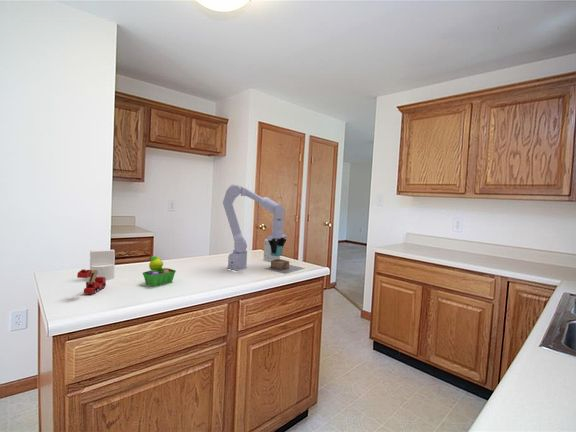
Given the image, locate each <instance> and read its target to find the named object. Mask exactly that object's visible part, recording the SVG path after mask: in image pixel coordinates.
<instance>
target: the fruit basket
mask: <svg viewBox="0 0 576 432" xmlns="http://www.w3.org/2000/svg"><path fill="white" fill-rule="evenodd" d="M163 266H164V261H162V259H161V258H159V256H157V255H153V256H151V257H150V261H149V267H148V268H149V270H147V271H143V272H142V276H143V278H144V282H145V285H146V286H149V287H153V288H155V287H157V286H162V285H166V284H170V283H173V279H174V276H175V274H176V273H177V270H175V269H172V268H169V267H163Z"/></svg>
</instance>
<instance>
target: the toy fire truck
mask: <svg viewBox="0 0 576 432" xmlns="http://www.w3.org/2000/svg"><path fill="white" fill-rule="evenodd" d="M97 274H98V271H97V270H90V269H81V270H79V271H78V272H77V275H76V277H77V278H78V279H88V278H89V279H88V281H86V283H85V288H84V289H83V295H95V294H96V293H99V292H100V291H101V290H103V289H105V287H106V285H107V284H106V283H107V280H106V279H105V277H96V276H97Z"/></svg>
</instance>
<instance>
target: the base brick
mask: <svg viewBox="0 0 576 432" xmlns="http://www.w3.org/2000/svg"><path fill="white" fill-rule="evenodd" d="M289 265H290V260H287V259H281V258H280V259H277V260H272V261H271V262H270V267H271V268H272V269H276V270H280V271H282V270H285V269H289Z"/></svg>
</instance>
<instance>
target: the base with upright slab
mask: <svg viewBox="0 0 576 432" xmlns="http://www.w3.org/2000/svg"><path fill="white" fill-rule="evenodd" d="M89 253H90V254H89V270H97V271H98V274H97V276H96V277H105V279H106V281H110V280H113V279H115V267H116V265H115V264H116V263H115V260H116V258H115V256H116V254H115V253H116V251H115V249H93V250H90V251H89Z"/></svg>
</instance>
